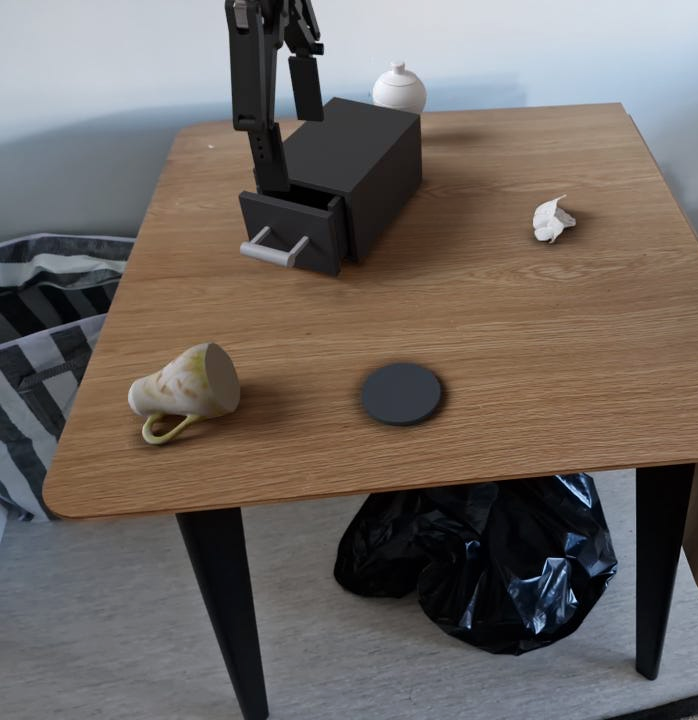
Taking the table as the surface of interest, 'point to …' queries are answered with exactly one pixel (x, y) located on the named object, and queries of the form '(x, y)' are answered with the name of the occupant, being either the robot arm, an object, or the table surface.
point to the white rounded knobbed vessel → (400, 90)
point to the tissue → (551, 220)
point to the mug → (187, 390)
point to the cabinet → (359, 164)
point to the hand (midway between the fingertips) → (294, 152)
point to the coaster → (401, 394)
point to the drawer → (296, 228)
